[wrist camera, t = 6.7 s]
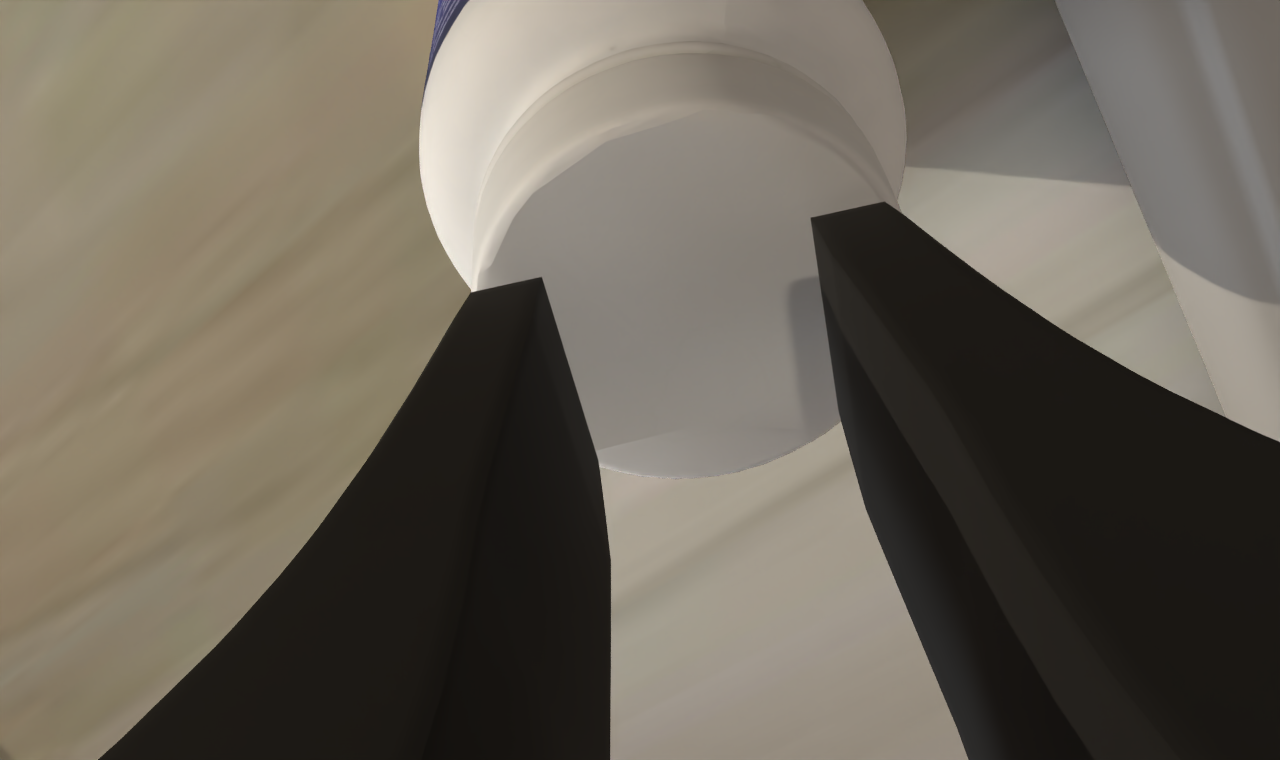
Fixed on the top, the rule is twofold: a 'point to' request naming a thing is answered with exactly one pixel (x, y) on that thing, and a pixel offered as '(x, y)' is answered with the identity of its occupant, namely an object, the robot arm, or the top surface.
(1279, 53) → the book
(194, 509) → the top surface
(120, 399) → the top surface
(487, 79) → the pill bottle
